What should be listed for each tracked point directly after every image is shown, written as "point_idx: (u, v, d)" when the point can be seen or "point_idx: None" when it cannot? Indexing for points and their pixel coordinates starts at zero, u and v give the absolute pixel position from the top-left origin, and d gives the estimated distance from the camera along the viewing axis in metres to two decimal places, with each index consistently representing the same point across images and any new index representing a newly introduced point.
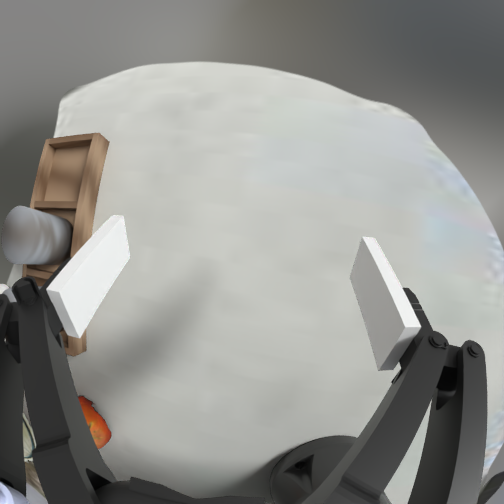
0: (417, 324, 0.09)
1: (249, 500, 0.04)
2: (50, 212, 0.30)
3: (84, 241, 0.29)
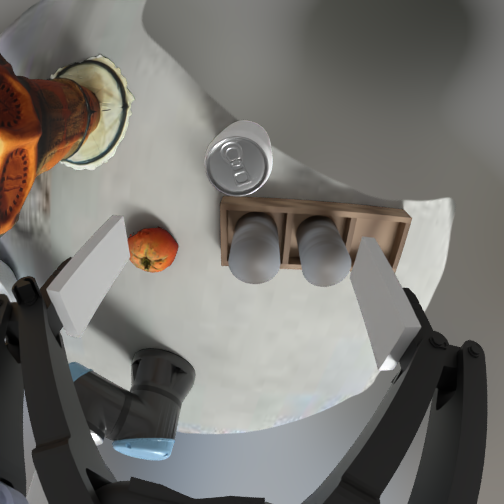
0: (417, 324, 0.09)
1: (249, 500, 0.04)
2: (343, 222, 0.39)
3: None
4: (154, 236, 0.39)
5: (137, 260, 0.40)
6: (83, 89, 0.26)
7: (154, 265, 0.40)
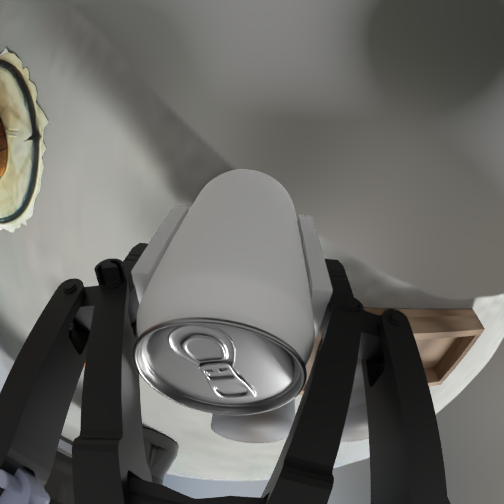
0: (329, 288, 0.11)
1: (249, 500, 0.04)
2: None
3: None
4: None
5: (84, 364, 0.24)
6: None
7: None
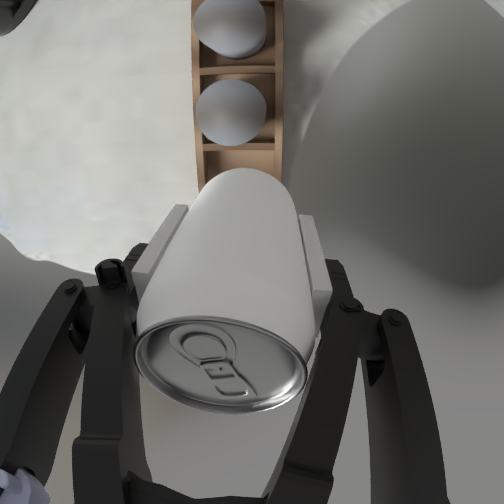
0: (328, 288, 0.11)
1: (249, 500, 0.04)
2: (259, 137, 0.30)
3: None
4: None
5: None
6: None
7: None
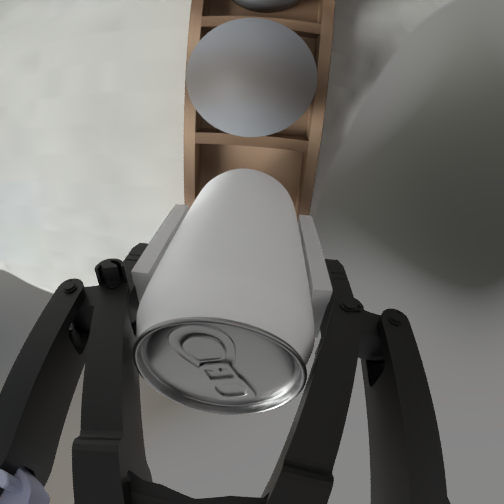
0: (328, 288, 0.11)
1: (249, 500, 0.04)
2: (283, 129, 0.20)
3: None
4: None
5: None
6: None
7: None
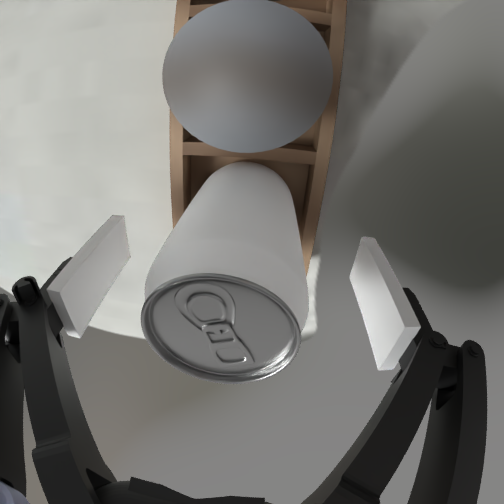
0: (417, 324, 0.09)
1: (249, 500, 0.04)
2: None
3: None
4: None
5: None
6: None
7: None
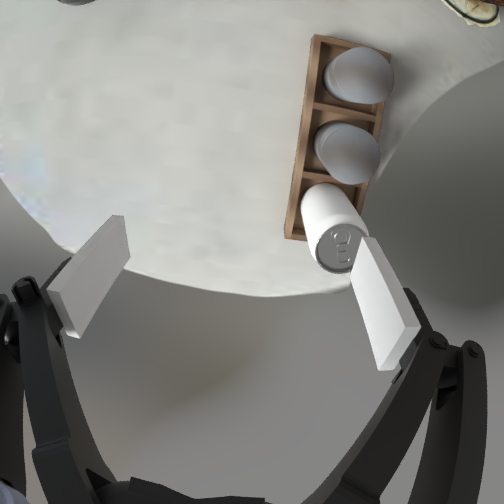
0: (417, 324, 0.09)
1: (249, 500, 0.04)
2: None
3: (299, 139, 0.33)
4: None
5: None
6: (495, 3, 0.14)
7: None
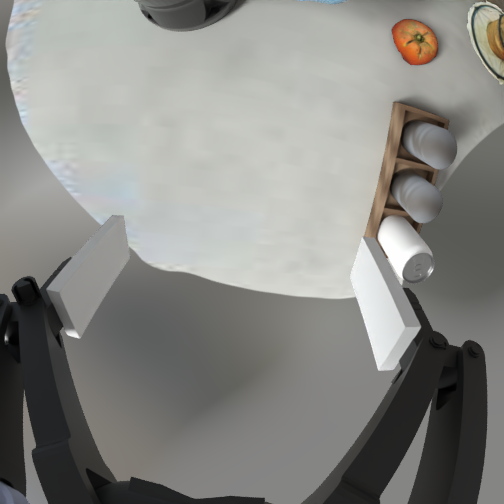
0: (417, 324, 0.09)
1: (249, 500, 0.04)
2: None
3: (381, 183, 0.42)
4: (434, 56, 0.28)
5: (421, 31, 0.25)
6: None
7: (415, 43, 0.27)
